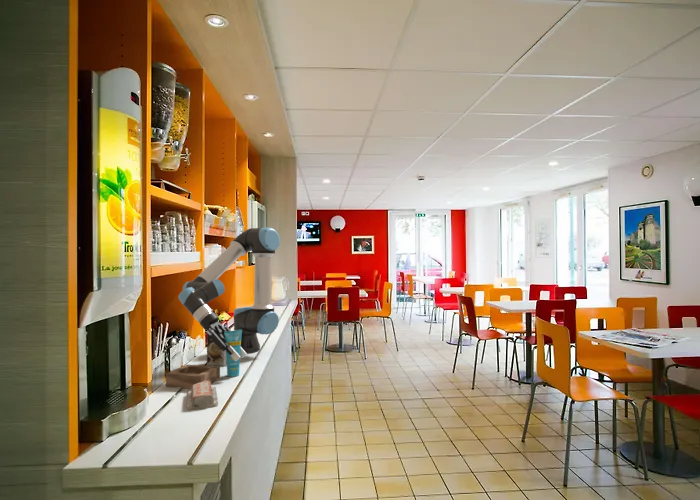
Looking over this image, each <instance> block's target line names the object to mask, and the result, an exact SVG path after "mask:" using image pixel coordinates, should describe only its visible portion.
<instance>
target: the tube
mask: <svg viewBox="0 0 700 500" xmlns="http://www.w3.org/2000/svg"><path fill="white" fill-rule="evenodd" d="M224 335H225V340H226V342H227V343H228V345H229V346H232V348H233V349H234V350H235V351H236V352H237V353H238V354H239V356H240V348H241V336H242V330H235V331H234V330H231V331H224ZM226 357H227V365H226V374H227V375H226V376H227V377H230V378H234V377H238V376H239V375H240V366H241V365H240V362H241V361H240V360H241V356H240V358H239V359H238V360H237V361H236V362H235V360H234V359H233V358H232V357H231V356H230V355H229V353H228V352H227V351H226Z"/></svg>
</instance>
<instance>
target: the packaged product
mask: <svg viewBox="0 0 700 500" xmlns="http://www.w3.org/2000/svg"><path fill="white" fill-rule="evenodd" d="M217 392H218V391H217V387H216V386H212V384H211V382H210V381H202V382H200V383H197V384H194V385H193V386H192V387H191V389H190V390H188V393H187V407H186V408H187V410H188V411H190V410H197V409H198V410H200V409H205V408H213V407H214V408H215V407H218V406H219V399H218V393H217Z"/></svg>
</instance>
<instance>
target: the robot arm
mask: <svg viewBox="0 0 700 500" xmlns="http://www.w3.org/2000/svg"><path fill="white" fill-rule="evenodd" d="M280 243H281V238H280V235H279V233H278V232H277V230H275V229H274V228H272V227H258V228H257V227H254V228H253V227H250V228H247V229H246V230H244V231H242V232H241V233H239V234H238V236H235V238H234V239H233V240H231V241H230V244H229V246H228V247H227V248H225V249H224V251H222V253H221V254H219V255H218V257H217V258H215V260H213V261H212V262H211V263H210V264H209V265H208V266H207V267H205V268H204V270H202V272H200V274H198V275H197V276H196V277H195V278H194V279H193V280H190V281H186V282H185V283H184V284H183V286H182V291H181V292H180V293H179V294H178V298H177V299H178V300H179V301H180V303H181V304H182V306H184V308H185V309H186V310H187V311H188V312H189V313H190V314H191V316H192V317H193V318H194V319H195V320H196V321H197V322H198V323H199V325H200V327H202V328H203V329H204V330H206V332H205V335H206V336H207V335H208V336H209V337H210V338H211V339H212V340H213V342H214V343H215V344H216V345H217V346H218V347H219V349H220V350H222V349H223V350H222V351H225V350H226V351H227V352H228V353H229V355H230V356H231V357H232V358H233V359H234V360H235V362H236V361H237V360H238V359H239V358H240V359H244V358H245V356H246V355H248V354H252V353H253V354H254V353H256V352H259V351H260V350H261V344H260V341H259V338H258V335H257V334H259V335H271V334H272V333H274V332H275V330H276V329H277V328H278V326H279V322H280V319H279V318H280V317H279V315H278V313H276V312H275V306H274V305H273V304H272V292H273V291H272V284H273V283H272V282H273V257H274V256H275V255H276V250H277V249H278V248H279V246H280V245H281V244H280ZM249 252H251V255H252V256H254V288H253V289H254V290H253V291H254V298H253V300H254V301H253V305H251V306H244V307H243V306H242V307H236V308H235V309H234V311H233V331H235V330H242V336H241V348H240V356H239V354H238V353H237V352H236V351H235V350H234V349H233V348H232V346H229V345H228V343H227V342H226V340H225V339H224V338H225V335H224V331H232V330H230V329H231V328H229V326H228V325H227V324H226V323H224V324H222V323H221V322H220V321H219V319H220V318H219V316H218V315H217V314H216V313H215V311H214V310H213V309H212V308H211V306H209V305H208V303H209V302H211V301H212V300H215V299H216V298H218V297H220V296H222V294H224V293H225V290H226V289H225V288H226V287H225V285H224V283H223V281H221V280H220V279H219V278H220V277H221V276H223V274H224V273H225V272H226V271H227V270H229V268H230V267H231V266H232V265H233V264H234V263H235V262H236V261H237V260H238V259H239V258H241V256H242V257H244V256H246V254H247V253H249ZM207 330H208V331H207ZM222 332H223V333H222Z"/></svg>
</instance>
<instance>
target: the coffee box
mask: <svg viewBox="0 0 700 500" xmlns="http://www.w3.org/2000/svg"><path fill="white" fill-rule="evenodd" d="M229 329H230V330H231V328H229ZM207 331H208V329H207V330H206V332H207ZM231 331H232V330H231ZM222 333H223V332H222ZM224 339H225V338H224ZM222 350H223V349H222ZM222 350H220V349H219V347H218V346H217V345H216V344H215V343H214V342H213V340H212V339H211V338H210V337H209V336H208V335H206V366H217V367H225V366H227V357H226V350H225V351H222Z"/></svg>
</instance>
